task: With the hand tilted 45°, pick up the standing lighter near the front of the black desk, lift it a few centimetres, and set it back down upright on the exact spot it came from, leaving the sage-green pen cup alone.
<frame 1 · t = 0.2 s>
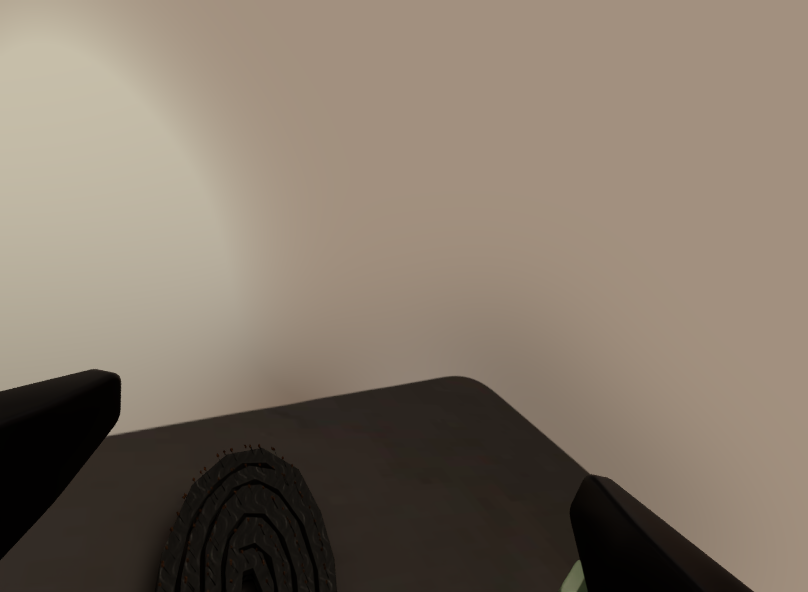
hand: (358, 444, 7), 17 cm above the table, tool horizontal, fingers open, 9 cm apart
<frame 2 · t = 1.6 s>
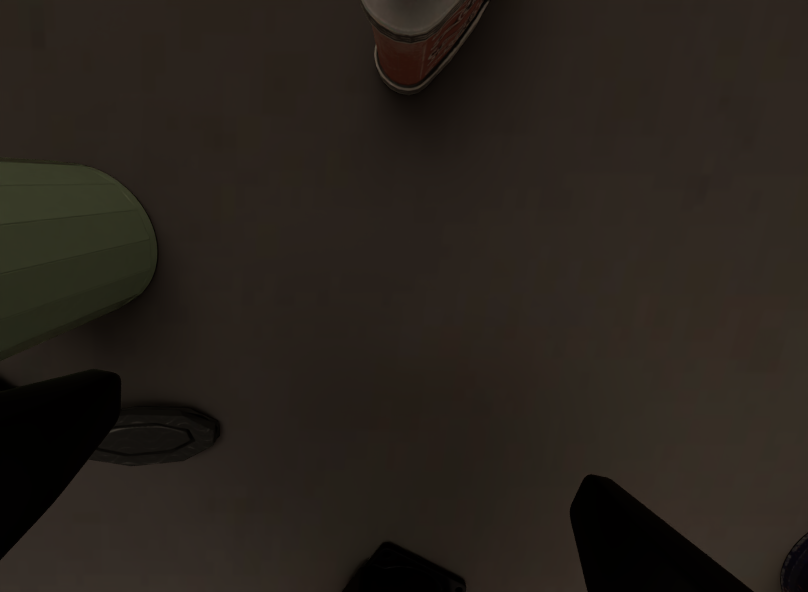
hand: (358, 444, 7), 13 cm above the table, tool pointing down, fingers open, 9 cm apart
pen cup: (84, 239, 19), on the table
lighter: (442, 3, 17), on the table
hairbrush: (3, 398, 22), on the table
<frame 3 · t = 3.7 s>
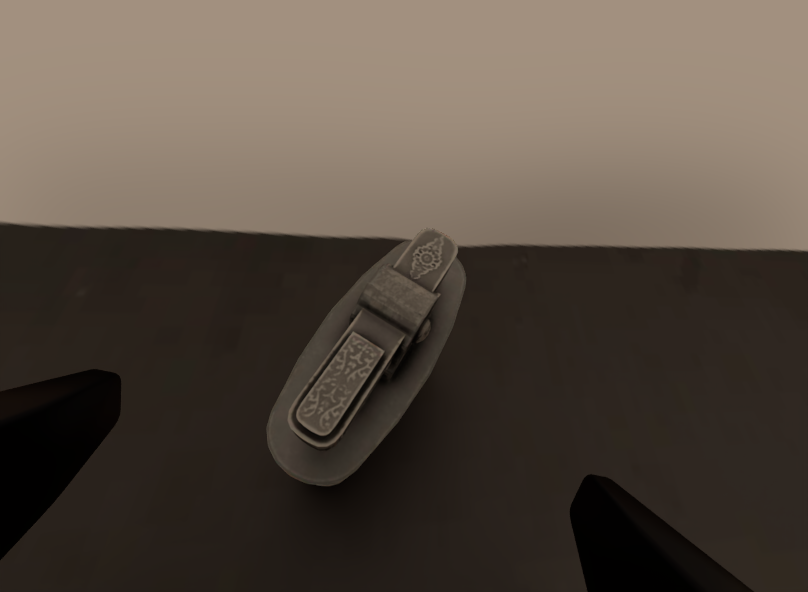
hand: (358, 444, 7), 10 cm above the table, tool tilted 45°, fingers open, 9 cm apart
lighter: (362, 397, 18), on the table
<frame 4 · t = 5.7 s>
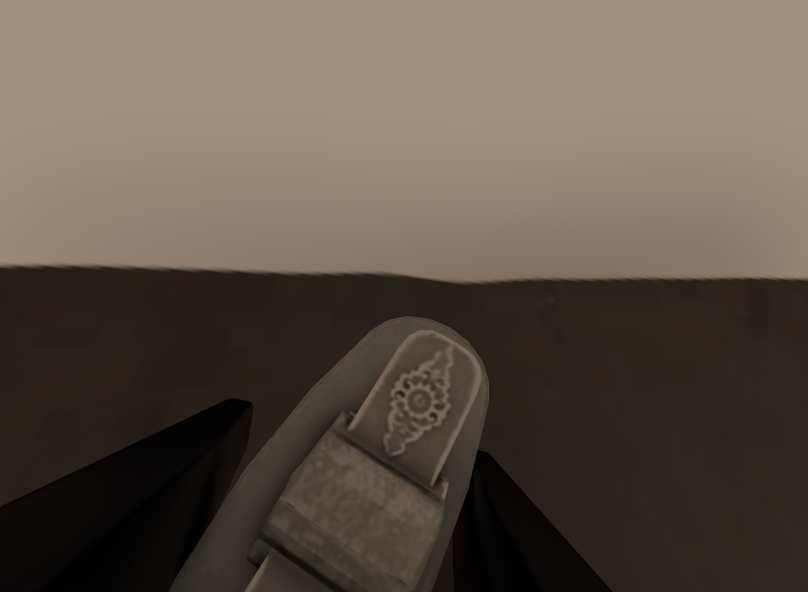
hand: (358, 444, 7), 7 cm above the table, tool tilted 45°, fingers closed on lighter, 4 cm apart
lighter: (335, 508, 13), on the table, touching gripper
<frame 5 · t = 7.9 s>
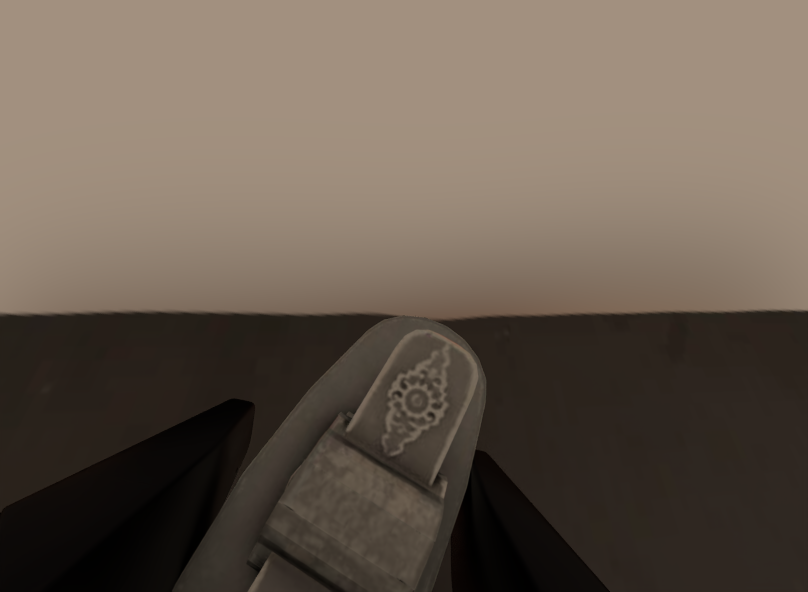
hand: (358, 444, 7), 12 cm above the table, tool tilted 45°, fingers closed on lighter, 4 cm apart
lighter: (335, 508, 13), point 5 cm above the table, touching gripper
when the fingers open (7 cm above the table, at t = 10.4 s): lighter stays where it is, on the table.
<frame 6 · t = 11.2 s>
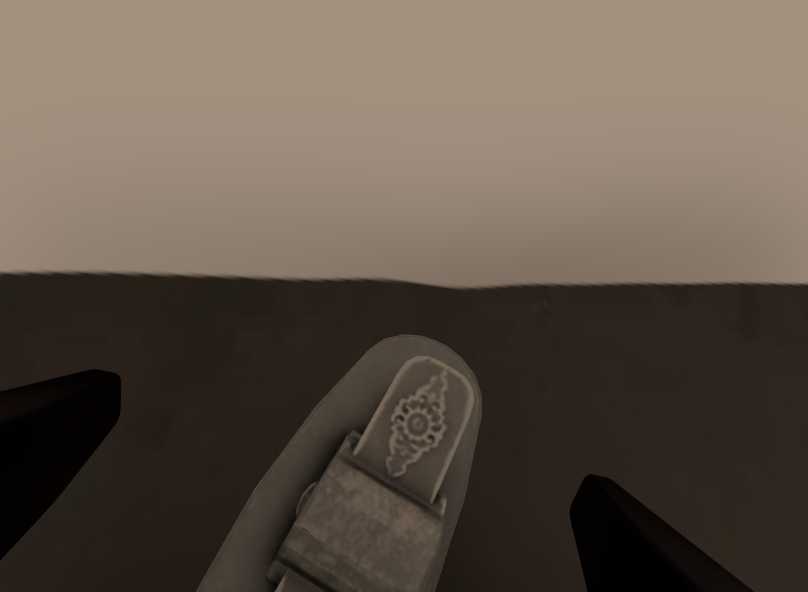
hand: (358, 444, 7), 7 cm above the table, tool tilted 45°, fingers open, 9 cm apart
lighter: (336, 514, 13), on the table
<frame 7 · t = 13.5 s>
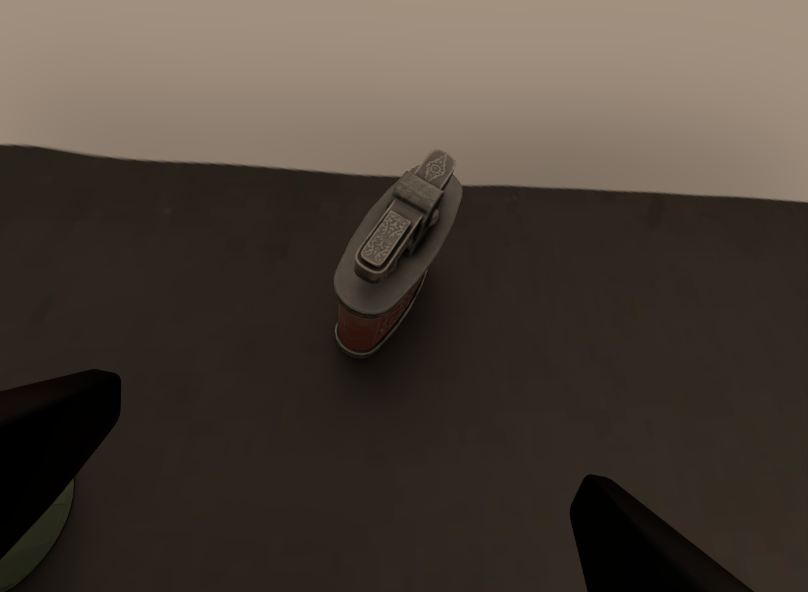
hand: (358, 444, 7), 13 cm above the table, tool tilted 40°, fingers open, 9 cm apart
lighter: (383, 299, 23), on the table
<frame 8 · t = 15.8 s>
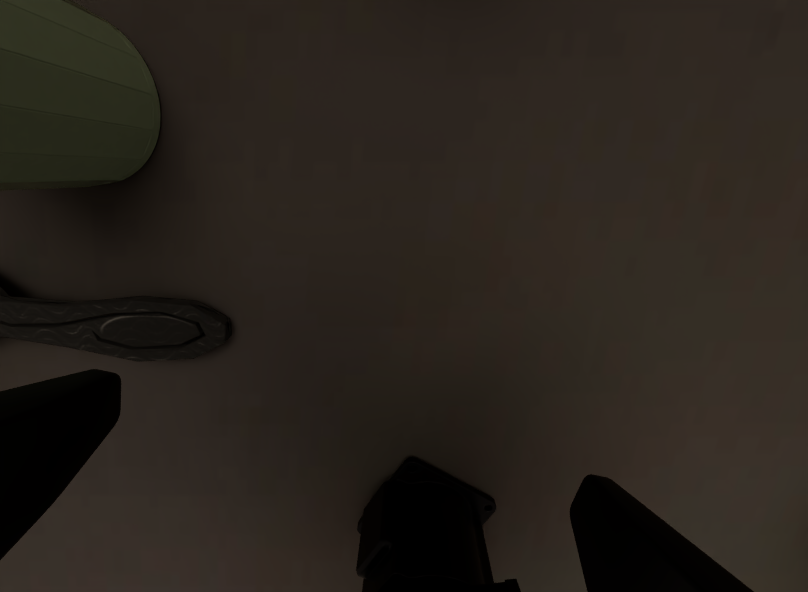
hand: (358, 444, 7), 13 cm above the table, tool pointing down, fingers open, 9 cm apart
pen cup: (79, 100, 17), on the table
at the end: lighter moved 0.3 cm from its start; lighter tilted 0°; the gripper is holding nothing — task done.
